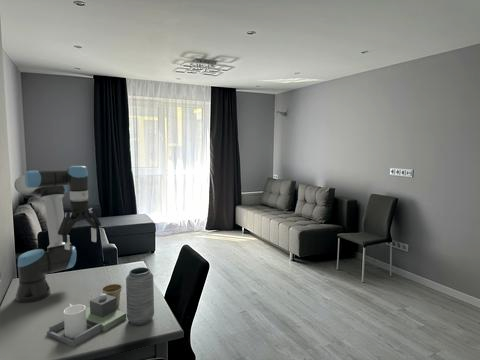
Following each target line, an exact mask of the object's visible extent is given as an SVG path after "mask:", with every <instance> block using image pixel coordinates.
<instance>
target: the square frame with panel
mask: <svg viewBox="0 0 480 360" xmlns="http://www.w3.org/2000/svg"><path fill="white" fill-rule="evenodd" d="M126 319H127V312H123V311H121V310H118V306H117V299H116V297H113V296H110V295H107V294H105V293H103V292H102V293H100V294H99V296H97V297H95V298H93V299H91V300H89V306H88V307H86V326H90V328H88V329H87V330H86V331H85V332H83V333H81V334H79V335H77V336H76V337H74V338H73V339H71V338H69V337H66V336H65V335H64V336H63V335H61V334H59V333H58V332H59V331H61V330H62V329H65V328H64V319H63V320H61V321H58V322H56V323H54V324H51V325H50V326H49V328H48V330H47V331H46V335H47V336H49V337H51V338H53V339H55V340H58V341H60V342H62V343H64V344H66V345H69V346H71V347H76V346H78V345H79V344H81V343H83V342H84V341H86V340H88V339H89V338H92V337H93V336H95V335H96V334H98V333H100V332H101V331H102V332H105V331H107V330H109V329H111V328H113V327H114V326H116V325H118V324H119V323H121V322H123V321H124V320H126ZM56 332H57V333H56Z"/></svg>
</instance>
